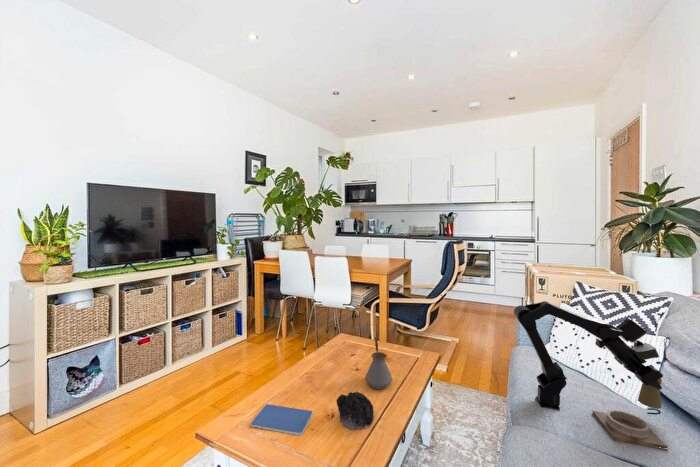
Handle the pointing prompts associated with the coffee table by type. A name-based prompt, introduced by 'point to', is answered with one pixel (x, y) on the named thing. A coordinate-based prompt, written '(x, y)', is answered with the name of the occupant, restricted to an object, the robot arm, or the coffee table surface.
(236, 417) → the coffee table surface
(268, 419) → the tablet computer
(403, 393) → the coffee table surface
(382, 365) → the coffee pot
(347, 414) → the black rough lump
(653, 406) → the cork
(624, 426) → the spacer seat
